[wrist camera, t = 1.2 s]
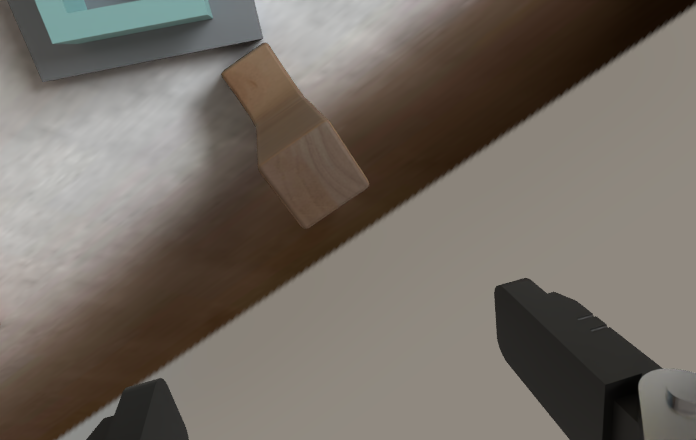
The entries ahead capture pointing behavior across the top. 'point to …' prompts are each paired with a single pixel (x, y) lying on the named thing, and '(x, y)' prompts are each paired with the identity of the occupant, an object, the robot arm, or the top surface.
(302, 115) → the wooden block
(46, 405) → the top surface
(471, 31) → the top surface
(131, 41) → the cradle jig
